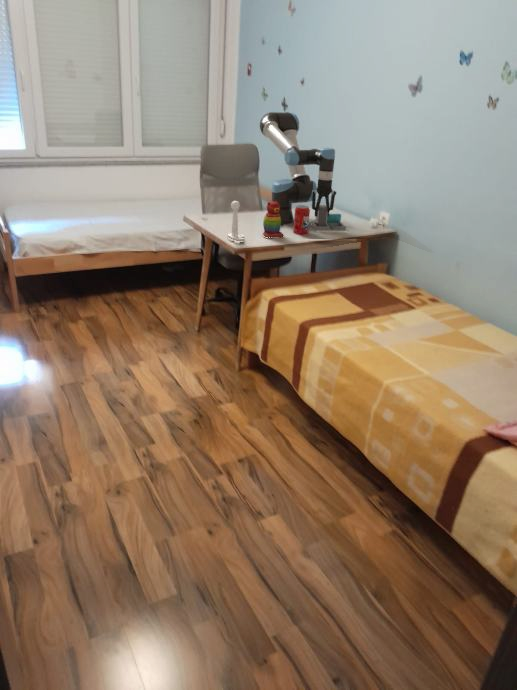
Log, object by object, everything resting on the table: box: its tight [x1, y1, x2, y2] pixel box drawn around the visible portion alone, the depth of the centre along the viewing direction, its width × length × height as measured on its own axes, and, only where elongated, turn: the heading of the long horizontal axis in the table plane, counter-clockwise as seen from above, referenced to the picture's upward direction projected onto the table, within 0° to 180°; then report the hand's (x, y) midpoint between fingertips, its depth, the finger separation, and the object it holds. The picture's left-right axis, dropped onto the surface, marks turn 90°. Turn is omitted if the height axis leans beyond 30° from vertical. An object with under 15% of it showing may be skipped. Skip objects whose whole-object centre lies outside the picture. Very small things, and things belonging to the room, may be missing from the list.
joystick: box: [227, 200, 245, 242], centre depth 263 cm, size 11×8×20 cm
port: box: [327, 213, 347, 231], centre depth 293 cm, size 8×13×6 cm, turn 9°
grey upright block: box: [316, 204, 327, 226], centre depth 289 cm, size 4×6×12 cm, turn 9°
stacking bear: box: [262, 201, 285, 239], centre depth 273 cm, size 11×10×18 cm
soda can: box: [292, 204, 311, 236], centre depth 278 cm, size 8×8×15 cm
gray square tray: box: [309, 221, 348, 233], centre depth 292 cm, size 17×17×3 cm
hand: (321, 222), depth 290 cm, fingers closed on grey upright block, 4 cm apart
